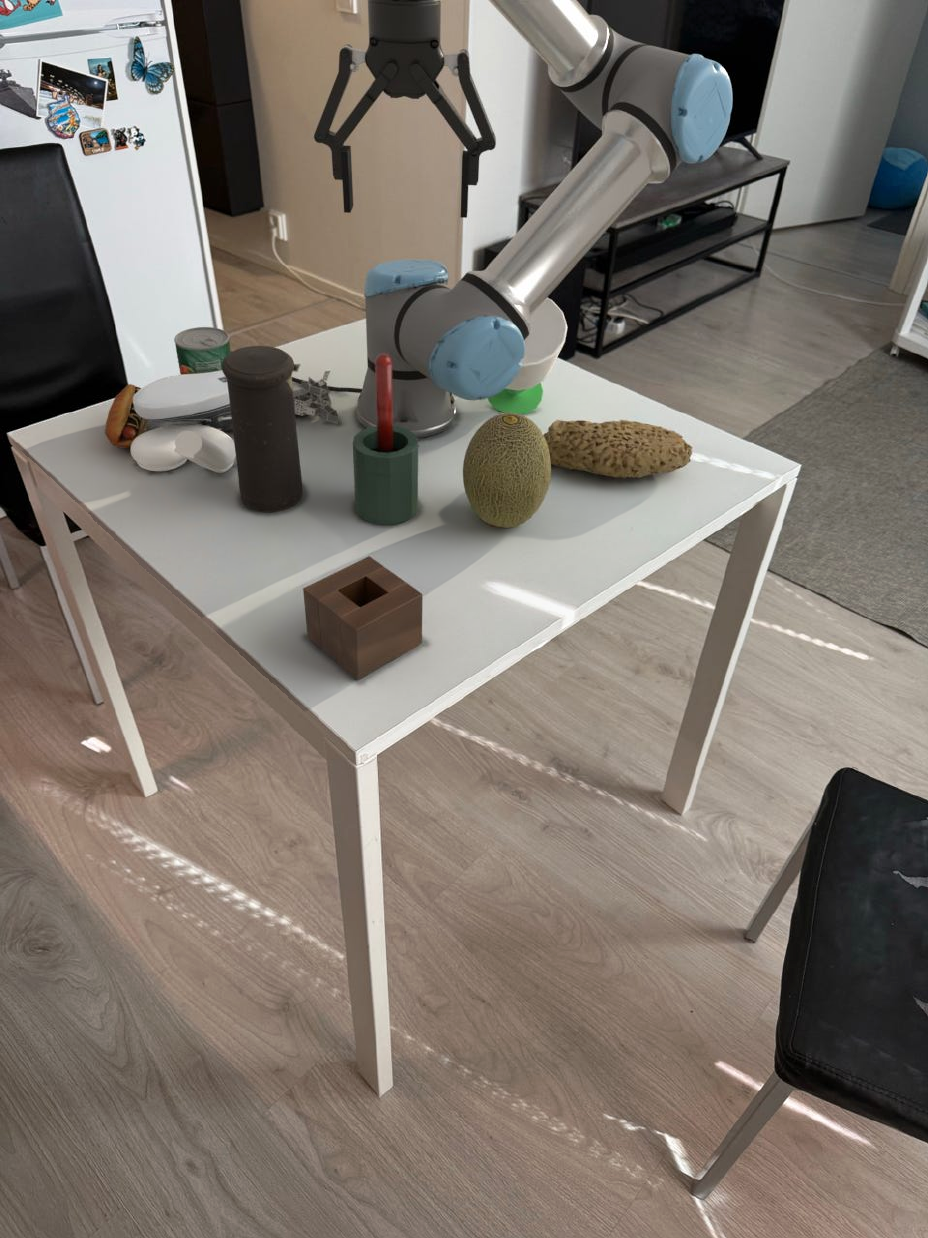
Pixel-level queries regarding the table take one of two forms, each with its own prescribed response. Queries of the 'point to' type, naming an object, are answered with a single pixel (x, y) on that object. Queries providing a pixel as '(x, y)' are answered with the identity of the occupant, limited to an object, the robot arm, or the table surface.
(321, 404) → the house of cards
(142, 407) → the boat shoe
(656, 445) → the sponge
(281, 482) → the container
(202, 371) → the canned tomato
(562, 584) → the table surface
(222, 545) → the table surface
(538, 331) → the cup
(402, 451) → the green hollow cylinder
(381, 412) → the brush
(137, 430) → the hot dog
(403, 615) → the holder
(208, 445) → the sculpture
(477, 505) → the fruit
